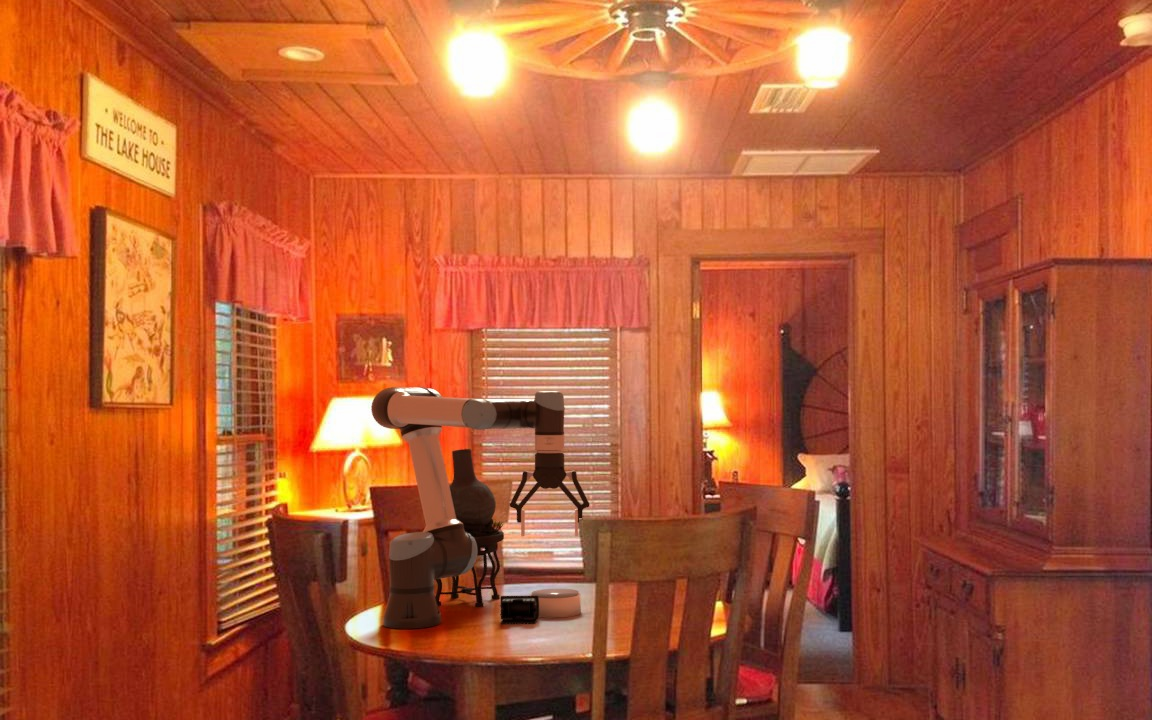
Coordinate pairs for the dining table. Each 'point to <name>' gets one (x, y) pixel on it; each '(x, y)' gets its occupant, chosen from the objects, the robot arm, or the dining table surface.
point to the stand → (558, 602)
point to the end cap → (519, 609)
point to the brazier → (474, 522)
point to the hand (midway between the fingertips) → (549, 535)
